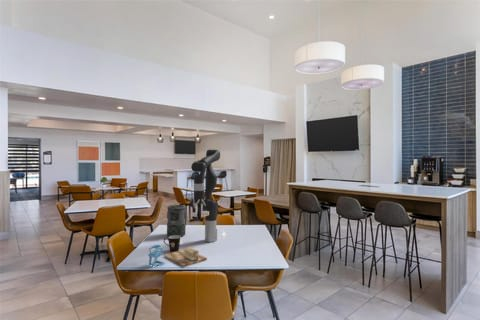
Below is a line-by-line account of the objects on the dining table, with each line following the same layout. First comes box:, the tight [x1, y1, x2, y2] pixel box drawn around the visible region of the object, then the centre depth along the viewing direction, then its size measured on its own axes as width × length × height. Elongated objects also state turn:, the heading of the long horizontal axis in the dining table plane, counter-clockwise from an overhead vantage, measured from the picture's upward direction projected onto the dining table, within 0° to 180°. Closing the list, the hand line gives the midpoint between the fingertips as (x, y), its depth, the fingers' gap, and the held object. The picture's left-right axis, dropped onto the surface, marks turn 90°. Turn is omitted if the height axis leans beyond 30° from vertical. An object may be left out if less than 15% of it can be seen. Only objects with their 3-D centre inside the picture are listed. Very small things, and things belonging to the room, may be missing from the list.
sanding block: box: [183, 247, 199, 262], centre depth 177 cm, size 5×9×6 cm, turn 44°
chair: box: [147, 244, 166, 268], centre depth 170 cm, size 8×8×12 cm
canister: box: [166, 202, 187, 238], centre depth 236 cm, size 16×16×28 cm
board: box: [163, 249, 208, 268], centre depth 182 cm, size 18×24×2 cm
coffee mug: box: [163, 235, 181, 253], centre depth 198 cm, size 12×9×10 cm
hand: (199, 211), depth 196 cm, fingers open, 8 cm apart
